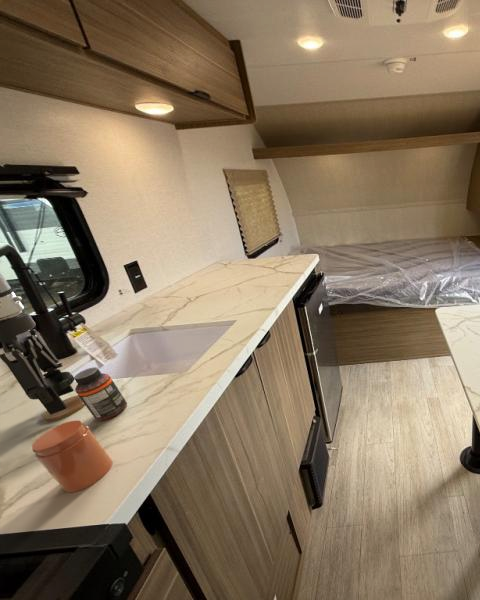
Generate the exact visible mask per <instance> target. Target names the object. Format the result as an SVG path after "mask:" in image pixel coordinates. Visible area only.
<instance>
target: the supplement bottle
mask: <svg viewBox="0 0 480 600" xmlns="http://www.w3.org/2000/svg"><path fill="white" fill-rule="evenodd" d="M73 377H74V382H75V383H76V386H75V389H74V391H75V393H76V394H77V395H79V397H80V398H81V400H82V401H83V402H84V404H85V407H86V409H87V410H88V411H89V412H90V414H91V415H92V417H93V418H94V419H95V420H96V421H105V420H110V419H112V418H114V417H116V416H118V415H119V414H120V413H122V412H123V411H124V410H125V409H126V407H127V405H128V403H127V401H126V399H125V397H124V396H123V394H122V393H121V392H120V389H119V388H118V386H117V385H116V383H115V382H114V380H113V379H112V377H111V376H110V375H109V374H108V373H102V372H101V371H100V369H99V368H98V367H93V366H92V367H89V368H86V369H84V370H82V371H80V372H78V373H77V374H75V375H74V376H73Z"/></svg>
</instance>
